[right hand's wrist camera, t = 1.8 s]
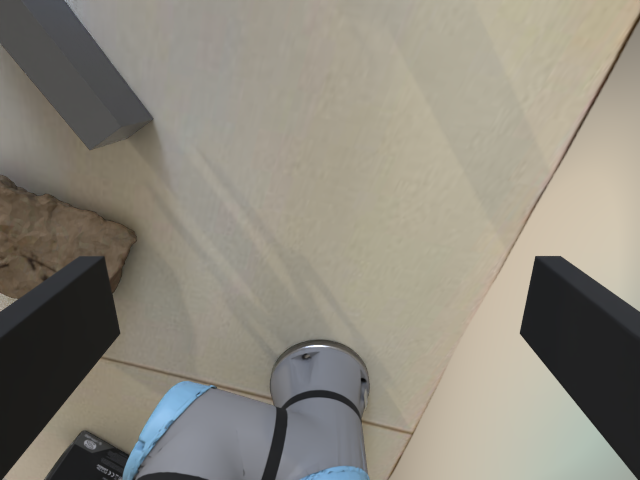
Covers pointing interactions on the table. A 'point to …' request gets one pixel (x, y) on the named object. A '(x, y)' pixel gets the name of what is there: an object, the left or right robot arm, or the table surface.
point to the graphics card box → (89, 461)
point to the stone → (52, 239)
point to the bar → (71, 70)
